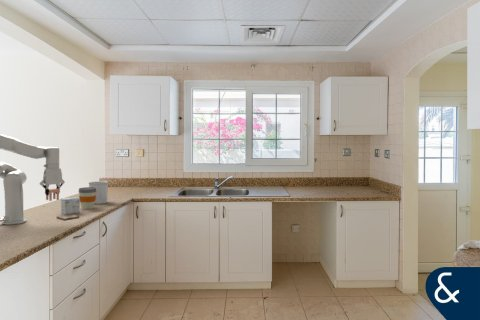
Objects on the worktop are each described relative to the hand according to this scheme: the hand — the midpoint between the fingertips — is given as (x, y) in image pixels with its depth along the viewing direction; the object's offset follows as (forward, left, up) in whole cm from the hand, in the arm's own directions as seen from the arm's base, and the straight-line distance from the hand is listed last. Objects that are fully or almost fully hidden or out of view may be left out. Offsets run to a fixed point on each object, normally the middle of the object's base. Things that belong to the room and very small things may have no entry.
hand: (52, 194), depth 212 cm
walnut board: (+10, 0, -17) cm, 19 cm away
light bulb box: (+19, +14, -17) cm, 29 cm away
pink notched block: (0, 0, -4) cm, 4 cm away
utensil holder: (+54, +36, -17) cm, 67 cm away
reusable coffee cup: (+37, +23, -17) cm, 47 cm away
